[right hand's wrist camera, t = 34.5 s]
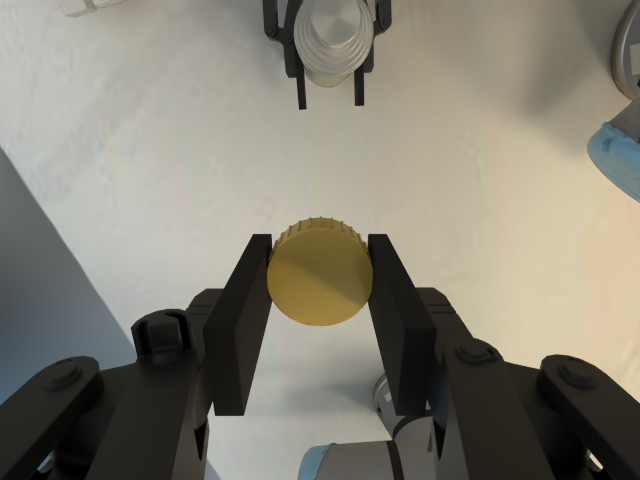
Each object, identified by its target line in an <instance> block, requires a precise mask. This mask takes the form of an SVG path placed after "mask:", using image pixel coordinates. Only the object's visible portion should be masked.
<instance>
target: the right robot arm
mask: <svg viewBox="0 0 640 480" xmlns="http://www.w3.org/2000/svg"><path fill="white" fill-rule="evenodd" d="M271 251H272V235H271V234H253V235H252V237H251V239H250V241H249V243H248V245H247V247H246V249H245V250H244V252H243V254H242V256H241V258H240V260H239V262H238V263H237V265H236V267H235V269H234V271H233V273H232V275H231V276H230V278H229V280H228V282H227V284H226V286H225V288H224V289H205V290H204V291H202V292H201V293H199V294H198V295H196V296H195V297H194V299H193V300H192V302H191V303H190V305H189V307H188V308H187V309H186V311H184V310H181V309H165V310H160V311H156V312H153V313H150V314H148V315H145V316H144V317H142V318H141V319H139V320H137V321H136V322H135V323H134V325H133V326H132V327H131V331H132V336H133V340H134V344H135V348H136V353H137V357H138V358H137V360H136V362H135V363H133V364H129V365H125V366H121V367H116V368H111V369H107V370H102V371H101V370H100V367H99V363H98V361H96V360H95V359H94V358H92V357H87V356H78V357H71V358H67V359H63V360H60V361H58V362H56V363H54V364H52V365H49V366H47V367H45V368H44V369H43V370H41V371H40V372H38V373H37V374H36V375H34V376H33V377H32V378H31V379H30V380H29V381H27V382H26V383H25V384H24V385H23V386H22V387H21V388H20V389H18V390H17V391H16V392H15V393H14V394H13V395H12V396H10V397H9V398H8V399H7V400H6V401H5V402H4V403H3V404H1V405H0V480H204V475H205V466H206V457H207V448H208V439H209V424H208V417H207V415H208V412H209V410H210V407H211V404H212V401H213V405H214V412H215V416H244V413H245V409H246V405H247V401H248V397H249V393H250V389H251V385H252V381H253V377H254V373H255V369H256V365H257V361H258V357H259V353H260V348H261V344H262V340H263V336H264V332H265V328H266V324H267V320H268V316H269V312H270V308H271V304H272V298H271V296H270V294H269V291H268V284H267V268H268V264H269V261H268V259H269V256H270V253H271ZM368 251H369V254H370V257H371V260H372V263H371V264H372V267H373V280H372V292H371V295H370V297H369V299H368V305H369V309H370V313H371V317H372V321H373V325H374V329H375V333H376V337H377V341H378V345H379V349H380V353H381V357H382V361H383V366H384V370H385V374H384V375H383V376H382V377H381V378H380V379H379V381H378V382H377V384H376V386H375V389H374V394H373V398H374V404H375V409H376V412H377V414H378V416H379V418H380V419H381V421H382V423H383V424H384V426H385V428H386V429H387V431H388V433H389V434H390V436H391V438H392V440H388V441H375V442H361V443H347V444H336V443H330V444H328V445H322V446H315V447H312V448H310V449H309V450H308V451H307V452H306V453H305V455H304V457H303V459H302V462H301V465H300V469H299V474H298V480H640V403H639V402H638V401H636V400H635V399H634V398H633V397H632V396H631V395H630V394H628V393H627V392H626V391H625V390H624V389H623V388H622V387H621V386H619V385H618V384H617V383H616V382H615V381H614V380H613V379H611V378H610V377H609V376H608V375H607V374H606V373H604V372H603V371H601V370H600V369H599V368H597V367H596V366H594V365H592V364H590V363H588V362H586V361H584V360H582V359H579V358H575V357H572V356H568V355H557V354H555V355H550V356H546V357H545V358H544V359H543V360H542V362H541V366H540V369H536V368H531V367H526V366H521V365H517V364H513V363H509V362H505V361H504V360H503V357H502V356H501V354H500V353H499V352H498V350H497V349H495V348H494V347H493V346H491V345H490V344H488V343H486V342H484V341H482V340H479V339H476V338H473V336H472V335H471V333H470V332H469V330H468V329H467V327H466V326H465V324H464V323H463V321H462V320H461V318H460V317H459V316H458V314H456V311H455V310H454V308H453V307H452V306H451V304H450V302H449V301H448V299H447V298H446V296H445V295H444V294H442V293H441V292H439V291H438V290H436V289H435V288H415V286H414V284H413V283H412V281H411V279H410V277H409V275H408V273H407V271H406V269H405V268H404V266H403V264H402V262H401V260H400V258H399V256H398V255H397V253H396V251H395V249H394V247H393V245H392V243H391V242H390V240H389V238H388V236H387V234H368ZM591 453H592V454H593V455H594V456H595V458H596V459H597V460H598V461H599V462H600V464H601V465H602V466H603V469H600V468H599V467H598V466H597V465H596V464H595V463H594V462H593V461H592V459H591V458H590V457H589V456H590V454H591ZM48 455H50V457H51V459H50V460H49V461H48V462H47V464H46V465H45V466H44V467H43V468H41V469H40V470H39V471H38V470H37V468H38V467H39V466H40V465H41V463H42V462H43V461H44V460H45V459H46V457H47V456H48Z"/></svg>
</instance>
